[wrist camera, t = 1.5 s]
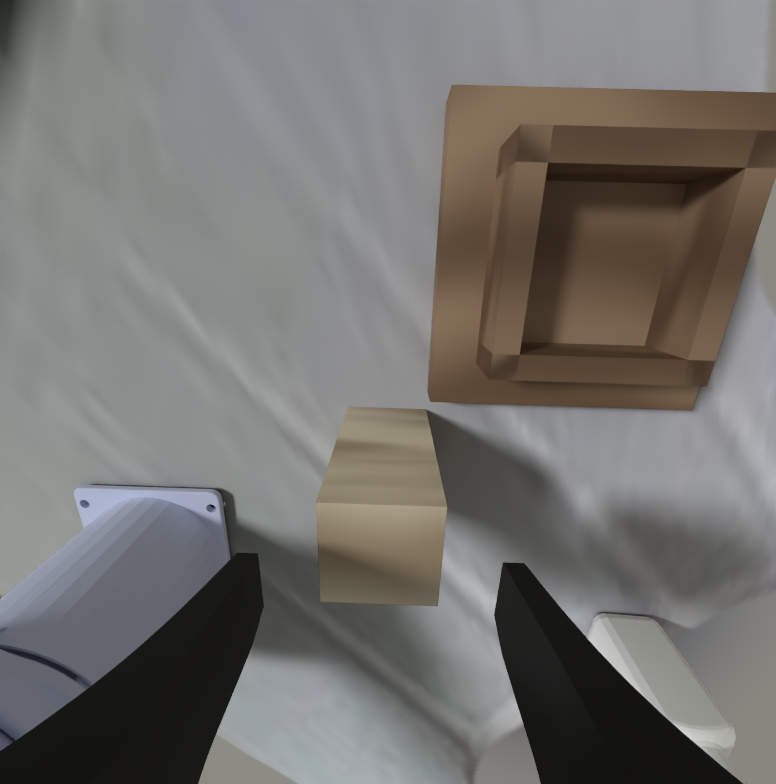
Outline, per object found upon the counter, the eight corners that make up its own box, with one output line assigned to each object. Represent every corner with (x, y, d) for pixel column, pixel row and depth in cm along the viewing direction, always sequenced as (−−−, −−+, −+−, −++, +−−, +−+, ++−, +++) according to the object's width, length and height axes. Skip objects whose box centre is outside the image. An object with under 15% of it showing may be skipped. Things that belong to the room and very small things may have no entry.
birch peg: (421, 477, 20) (437, 606, 12) (348, 475, 20) (320, 602, 13) (426, 409, 19) (447, 507, 11) (347, 406, 19) (315, 502, 11)
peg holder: (668, 398, 18) (740, 433, 14) (427, 391, 18) (435, 423, 15) (754, 110, 14) (883, 54, 11) (446, 102, 14) (464, 44, 11)
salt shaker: (636, 658, 24) (778, 890, 15) (575, 653, 24) (683, 883, 15) (655, 612, 23) (824, 837, 14) (592, 607, 23) (720, 830, 14)
